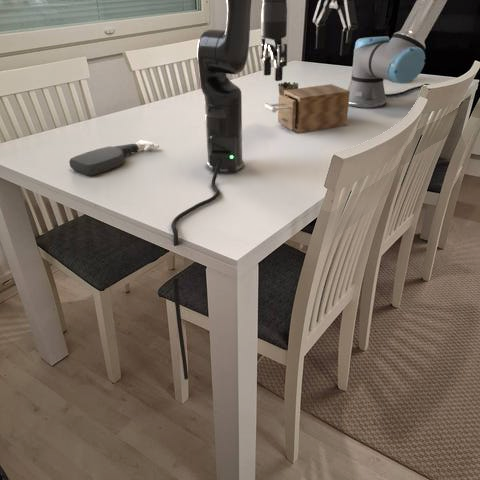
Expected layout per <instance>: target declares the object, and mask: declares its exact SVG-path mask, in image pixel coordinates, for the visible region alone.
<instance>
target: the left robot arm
mask: <svg viewBox="0 0 480 480" xmlns="http://www.w3.org/2000/svg"><path fill="white" fill-rule="evenodd" d="M225 2H226V25H225V30H224V29H207V30H205V31H204V32H202V34H201V35H200V37H199V39H198V42H197V49H196V51H197V52H196V55H197V66H198V75H199V85H200V89H201V92H202V94H203V99H204V100H203V101H204V116H205V117H204V118H205V133H206V134H205V135H206V151H207V152H206V153H207V168H208V169H209V170H211V172H212V173H213V175H212V179H211V188H212V190H213V192H215V193H214V195H213V196H211V197H210V198H209V197H208V198H207V199H205V200H202V201H200V202H198V203H196V204H194V205H193V206H190V207H189V208H188V209H185V210H184V211H182V212H181V213H179V214H177V216H175V218H174V219H173V220H172V222H171V225H170V228H171V230H172V234H173V246H174V247H177V246H179V232H178V229H177V224H178V222H179V221H180V220H181V219H182V218H183V217H185V216H187V215H188V214H190V213H192V212H194V211H196V210H198V209H199V208H201V207H203V206H205V205H208V204H210V203H212V202H214V201H215V200H217V199H218V197H219V196H220V190H219V189H218V188H217V186H216V181H217V177H218V174H219V173H237V171H239V170H240V169H242V168H243V166H244V159H243V114H242V113H243V109H242V108H243V106H242V105H243V104H242V103H243V102H242V101H243V100H242V99H243V98H242V96H243V95H242V90H241V88H240V87H239V86H238V85H236V84H234V83H233V82H232V81H231V80H230V79H229V77H228V75H238V74H241V72H242V71H243V70H244V69H245V67H246V64H247V62H248V57H249V51H250V34H251V33H250V32H251V12H252V11H251V9H252V0H225ZM287 2H288V0H261V7H260V37H261V38H260V50H259V51H260V55H259V58H260V60H262V63H263V76H265V77H267V76H271V75H272V62H273V64H274V81H275V82H281V81H283V70H284V67H287V66H288V44H287V43H283V42H282V39H283V38H286V37H287V29H288V3H287ZM172 281H173V294H174V295H173V296H174V307H175V316H176V317H175V318H176V322H177V323H176V324H177V332H178V339H179V345H180V354H181V363H182V371H183V379H184V380H185V381H186V380H189V373H188V371H189V370H188V364H187V355H186V354H187V353H186V347H185V340H184V332H183V324H182V314H181V304H180V290H179V278H173V280H172Z"/></svg>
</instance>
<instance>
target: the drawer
mask: <svg viewBox="0 0 480 480" xmlns="http://www.w3.org/2000/svg"><path fill="white" fill-rule="evenodd" d="M298 105H299V100H297V99H295V98H293V97H291V96H289V95H287V96H284V95H282V94H280V95H279V94H278V103H271V104H270V103H268V102H267V103H265V104H264V108H265V109H267V110H268V111H270V112H272V113H274V114H275V113H276V112H277V123H278V124H280V125H281V126H284V127H285V128H287V129H288V130H290V131H294V130H295V126H296V127H297V124H298Z"/></svg>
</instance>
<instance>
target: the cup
mask: <svg viewBox="0 0 480 480" xmlns="http://www.w3.org/2000/svg"><path fill="white" fill-rule="evenodd" d="M299 85H300V84H299V83H298V82H295V81H294V82H293V83H291V82H290V81H288V82H287V81H284V82H280V83H278V84H277V86H278V96H279V95H280V94H282V95H284V90H291V89H298V88H299Z"/></svg>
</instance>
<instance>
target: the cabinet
mask: <svg viewBox="0 0 480 480" xmlns="http://www.w3.org/2000/svg"><path fill="white" fill-rule="evenodd" d="M287 95H289V96H291V97H293V98H295V99H297V100H299V105H298V124H297V127H296V126H295V130H293V132H296V133H298V134H301V133H305V132H314V131H318V130H325V129H329V128H330V129H331V128H335V127H342V126H346V125H347V121H348V120H347V119H348V111H349V105H348V104H349V95H350V91H348V89H346V88H344V87H343V88H342V87H340V86H338V85H335V84H333V83H330V84H322V85H315V86H306V87H298V89H291V90H284V96H287Z"/></svg>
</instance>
